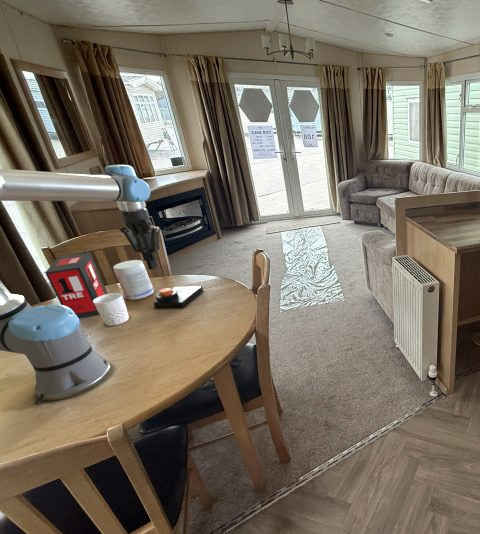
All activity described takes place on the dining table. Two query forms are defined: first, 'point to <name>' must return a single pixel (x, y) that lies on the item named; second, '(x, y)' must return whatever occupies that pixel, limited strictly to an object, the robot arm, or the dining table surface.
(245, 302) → the dining table surface
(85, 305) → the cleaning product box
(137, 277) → the supplement tub
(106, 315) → the white cup
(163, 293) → the oven button
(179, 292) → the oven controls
